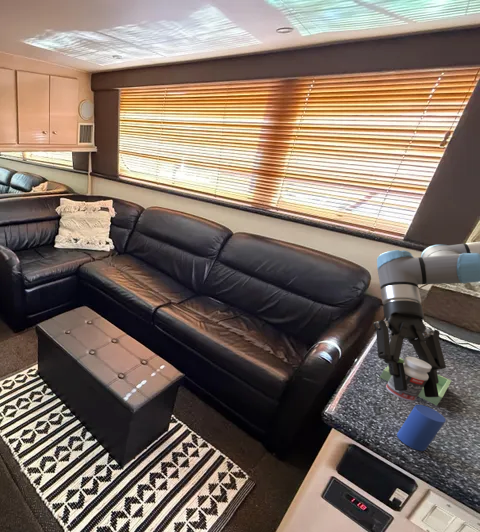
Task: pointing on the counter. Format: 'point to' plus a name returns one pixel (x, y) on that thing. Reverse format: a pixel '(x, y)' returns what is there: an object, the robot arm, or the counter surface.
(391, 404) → the counter surface
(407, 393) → the pill bottle
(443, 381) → the sage tray
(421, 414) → the blue cylinder
